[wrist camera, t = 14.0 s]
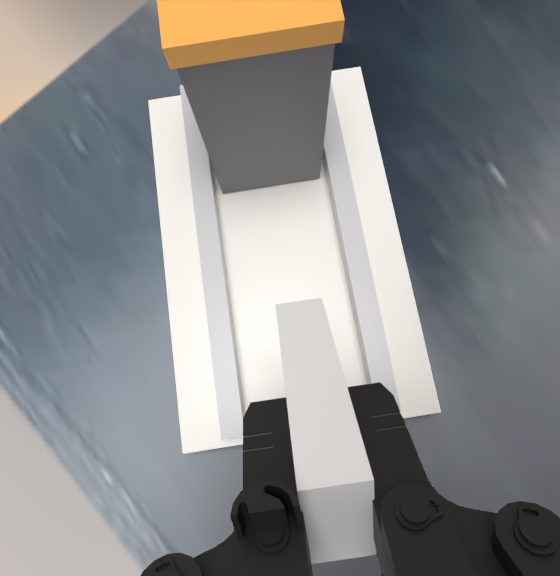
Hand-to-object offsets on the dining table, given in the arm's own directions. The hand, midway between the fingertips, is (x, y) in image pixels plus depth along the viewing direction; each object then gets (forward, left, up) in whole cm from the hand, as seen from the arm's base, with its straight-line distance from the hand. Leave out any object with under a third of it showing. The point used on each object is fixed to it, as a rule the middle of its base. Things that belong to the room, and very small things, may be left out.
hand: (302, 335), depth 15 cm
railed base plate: (+6, -3, -12) cm, 14 cm away
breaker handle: (+11, -6, -10) cm, 16 cm away
